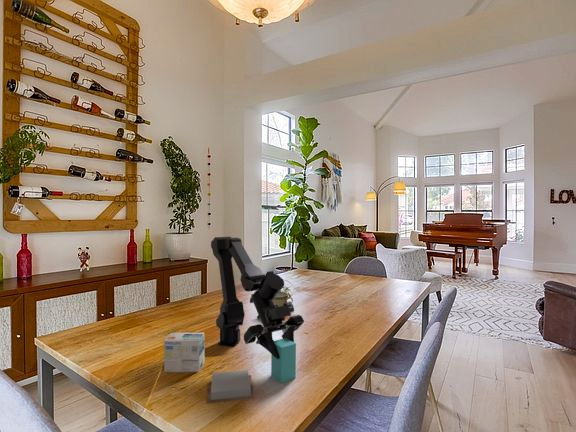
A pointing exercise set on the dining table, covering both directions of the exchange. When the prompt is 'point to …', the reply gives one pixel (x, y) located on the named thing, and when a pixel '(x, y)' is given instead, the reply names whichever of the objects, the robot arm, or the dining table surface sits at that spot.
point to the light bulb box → (184, 352)
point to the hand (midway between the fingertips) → (286, 356)
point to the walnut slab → (230, 398)
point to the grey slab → (230, 385)
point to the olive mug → (281, 299)
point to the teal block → (284, 361)
